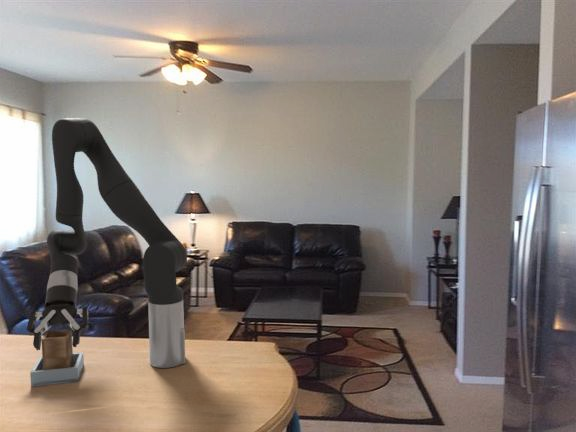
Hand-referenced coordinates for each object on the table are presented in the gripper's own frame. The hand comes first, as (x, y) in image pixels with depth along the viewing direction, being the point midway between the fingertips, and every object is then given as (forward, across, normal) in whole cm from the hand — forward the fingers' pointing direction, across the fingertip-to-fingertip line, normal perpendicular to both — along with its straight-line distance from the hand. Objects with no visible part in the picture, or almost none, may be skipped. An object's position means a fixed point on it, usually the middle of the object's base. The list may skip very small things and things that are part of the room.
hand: (56, 347), depth 123 cm
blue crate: (+5, 0, +6) cm, 8 cm away
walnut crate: (+4, 0, +6) cm, 7 cm away
